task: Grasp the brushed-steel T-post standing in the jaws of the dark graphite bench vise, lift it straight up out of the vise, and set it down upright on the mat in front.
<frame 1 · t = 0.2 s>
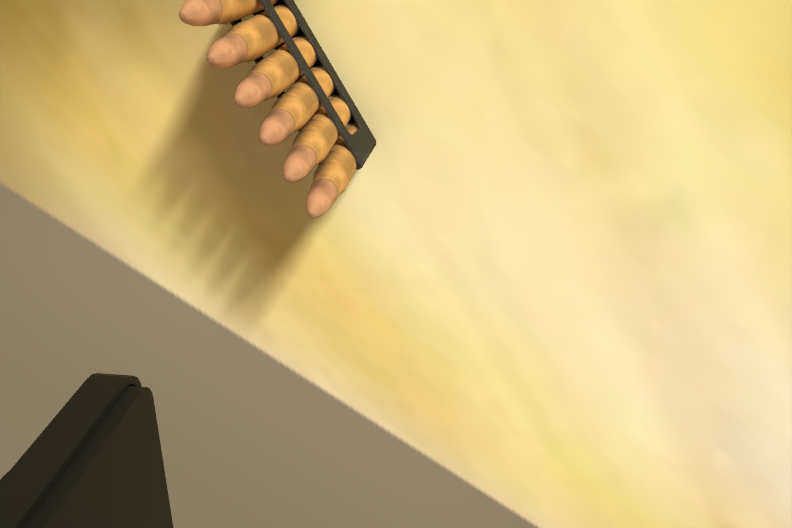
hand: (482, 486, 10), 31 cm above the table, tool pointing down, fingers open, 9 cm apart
ammunition clip: (313, 64, 39), on the table
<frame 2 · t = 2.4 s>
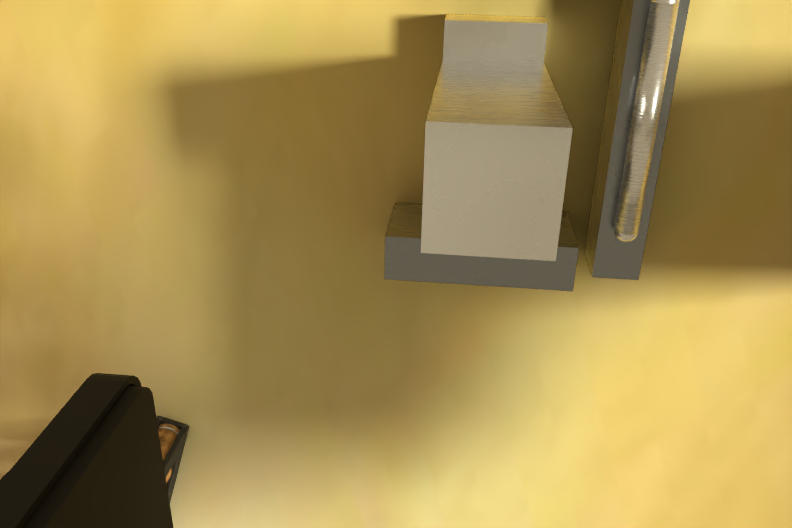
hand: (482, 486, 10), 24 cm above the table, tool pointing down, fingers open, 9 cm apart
steel post: (490, 137, 26), in the vise
vise: (488, 100, 31), on the table
ammunition clip: (159, 483, 43), on the table
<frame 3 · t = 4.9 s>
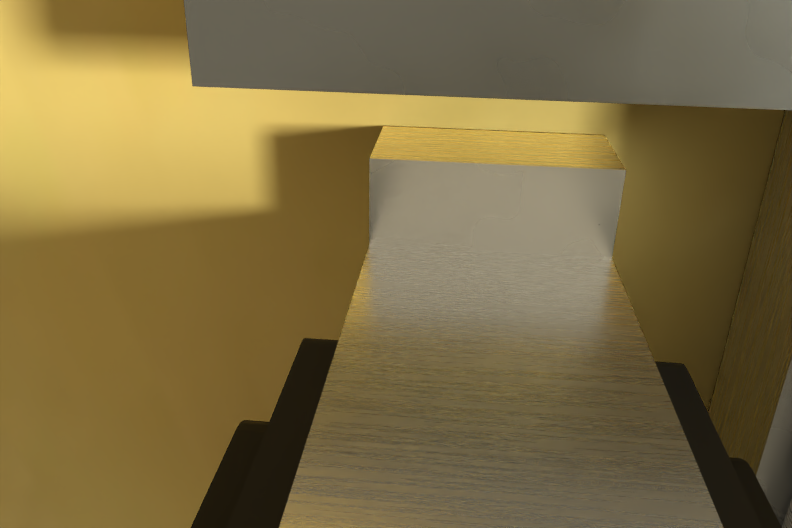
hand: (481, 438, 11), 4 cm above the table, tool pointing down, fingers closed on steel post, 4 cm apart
steel post: (483, 522, 9), in the vise, touching gripper
vise: (478, 301, 15), on the table
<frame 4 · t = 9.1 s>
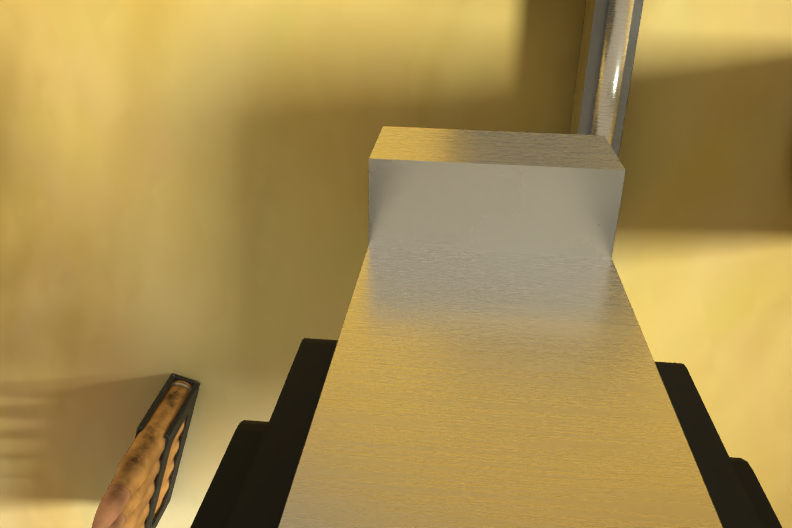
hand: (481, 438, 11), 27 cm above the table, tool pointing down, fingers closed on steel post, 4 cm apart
steel post: (483, 522, 9), point 29 cm above the table, touching gripper
vise: (472, 80, 35), on the table
ammunition clip: (171, 438, 47), on the table
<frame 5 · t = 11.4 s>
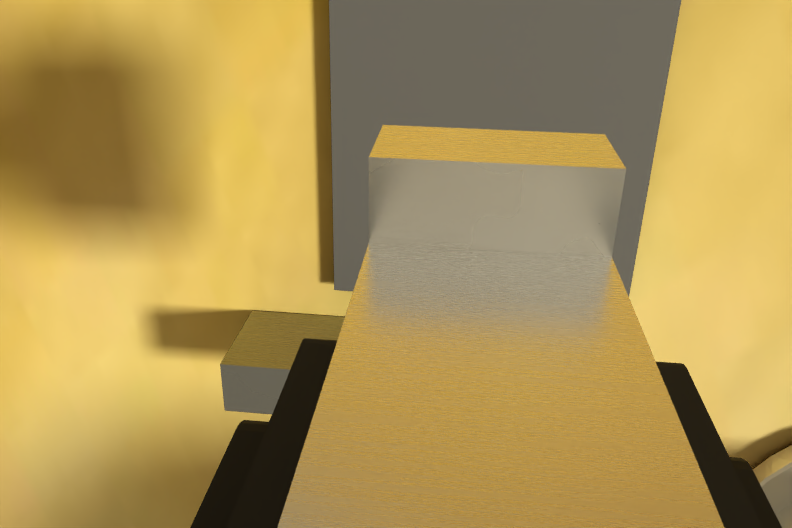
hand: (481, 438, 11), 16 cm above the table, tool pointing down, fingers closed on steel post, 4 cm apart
steel post: (483, 522, 9), point 18 cm above the table, touching gripper
vise: (351, 456, 32), on the table
mat: (488, 153, 25), on the table
when the fingers open (6 cm above the table, at t = 13.4 s): steel post stays where it is, resting on mat.
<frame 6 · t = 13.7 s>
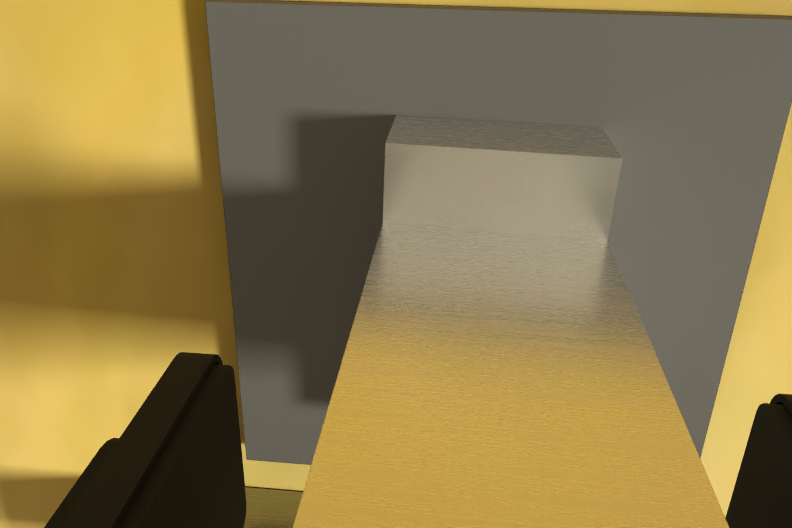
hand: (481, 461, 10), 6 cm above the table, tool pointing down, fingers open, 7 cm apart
steel post: (487, 473, 10), on the mat, point 7 cm above the table
mat: (478, 267, 16), on the table
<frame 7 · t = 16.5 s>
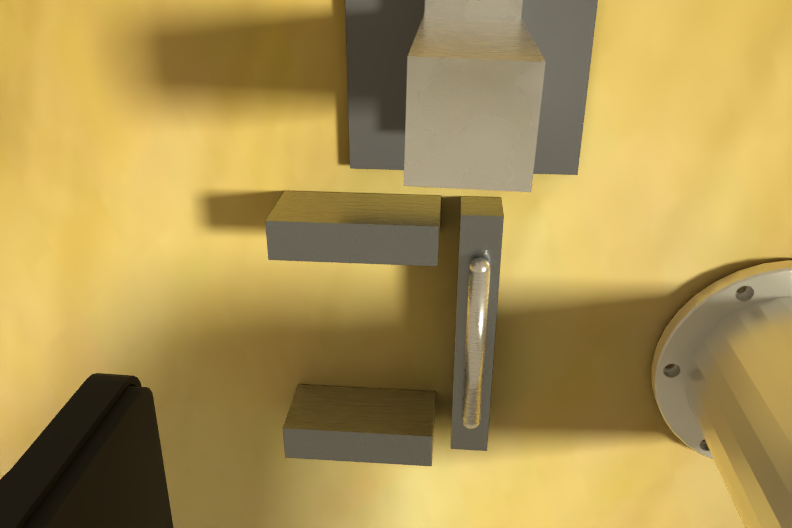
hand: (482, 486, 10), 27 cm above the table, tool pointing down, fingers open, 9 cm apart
steel post: (470, 84, 27), on the mat, point 7 cm above the table
vise: (364, 313, 40), on the table
mat: (467, 53, 33), on the table
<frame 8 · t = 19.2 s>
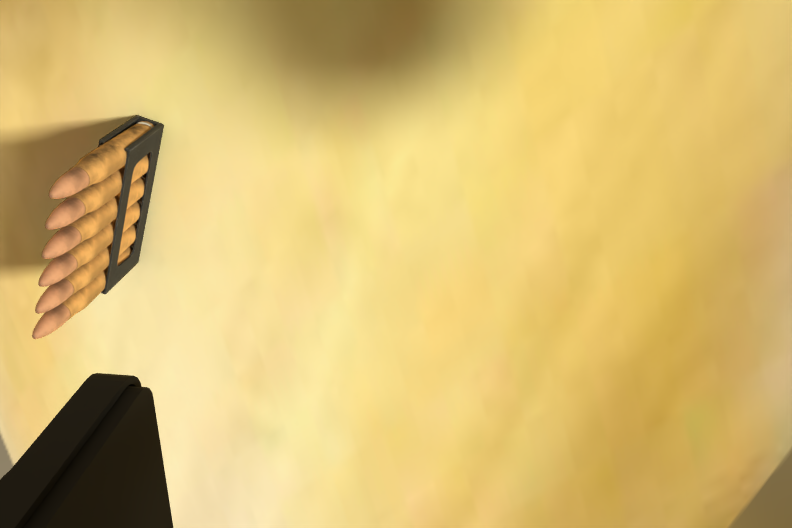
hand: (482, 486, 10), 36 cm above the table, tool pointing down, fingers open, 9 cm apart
ammunition clip: (138, 191, 49), on the table
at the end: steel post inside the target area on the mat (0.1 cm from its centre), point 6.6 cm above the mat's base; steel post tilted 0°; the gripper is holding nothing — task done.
